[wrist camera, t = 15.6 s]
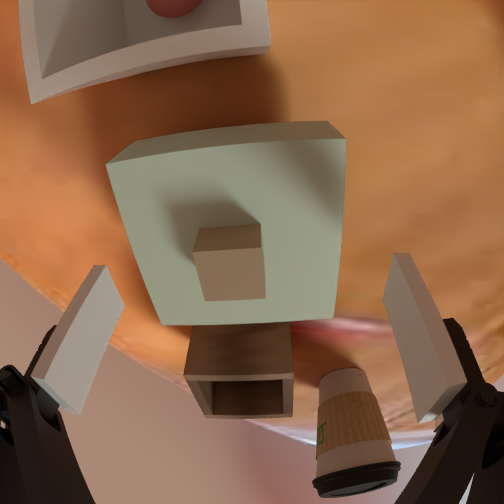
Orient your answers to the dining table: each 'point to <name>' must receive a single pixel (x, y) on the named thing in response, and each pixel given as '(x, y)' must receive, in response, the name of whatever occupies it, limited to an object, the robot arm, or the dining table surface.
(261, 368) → the walnut box
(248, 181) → the lid
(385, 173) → the dining table surface
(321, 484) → the coffee cup
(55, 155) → the dining table surface
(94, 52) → the planter
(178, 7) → the ball
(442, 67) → the dining table surface
